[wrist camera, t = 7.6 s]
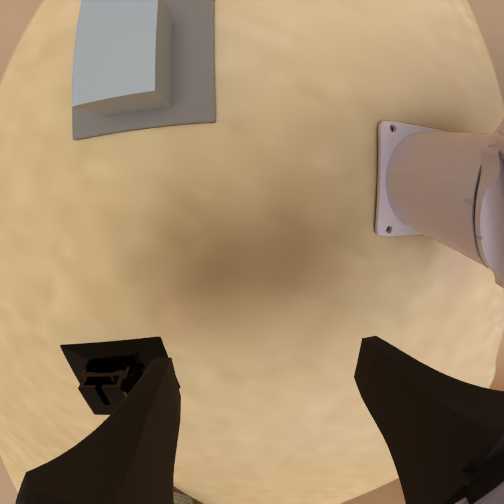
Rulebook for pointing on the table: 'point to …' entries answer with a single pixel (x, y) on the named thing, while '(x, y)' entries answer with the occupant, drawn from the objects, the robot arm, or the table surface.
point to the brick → (122, 56)
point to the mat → (183, 78)
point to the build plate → (111, 369)
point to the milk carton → (183, 498)
